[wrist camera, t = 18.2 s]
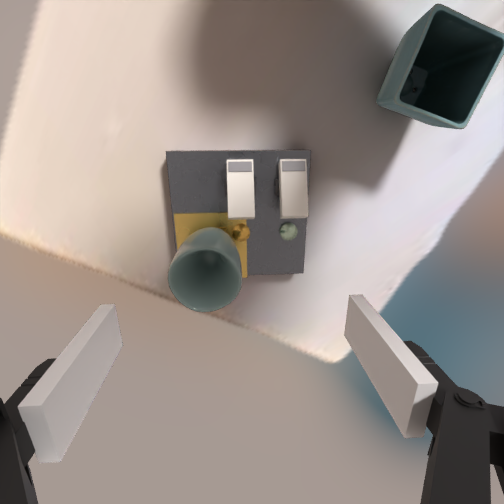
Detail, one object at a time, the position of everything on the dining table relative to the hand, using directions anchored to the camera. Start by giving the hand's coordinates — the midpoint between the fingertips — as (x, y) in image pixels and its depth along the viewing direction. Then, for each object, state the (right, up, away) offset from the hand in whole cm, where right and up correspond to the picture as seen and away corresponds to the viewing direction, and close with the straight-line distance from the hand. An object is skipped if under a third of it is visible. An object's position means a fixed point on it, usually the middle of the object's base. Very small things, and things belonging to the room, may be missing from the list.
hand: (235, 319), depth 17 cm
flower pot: (+20, +25, +21) cm, 38 cm away
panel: (-1, +9, +25) cm, 27 cm away
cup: (-5, +5, +24) cm, 25 cm away
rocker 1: (0, +11, +19) cm, 22 cm away
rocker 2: (+6, +12, +20) cm, 24 cm away
